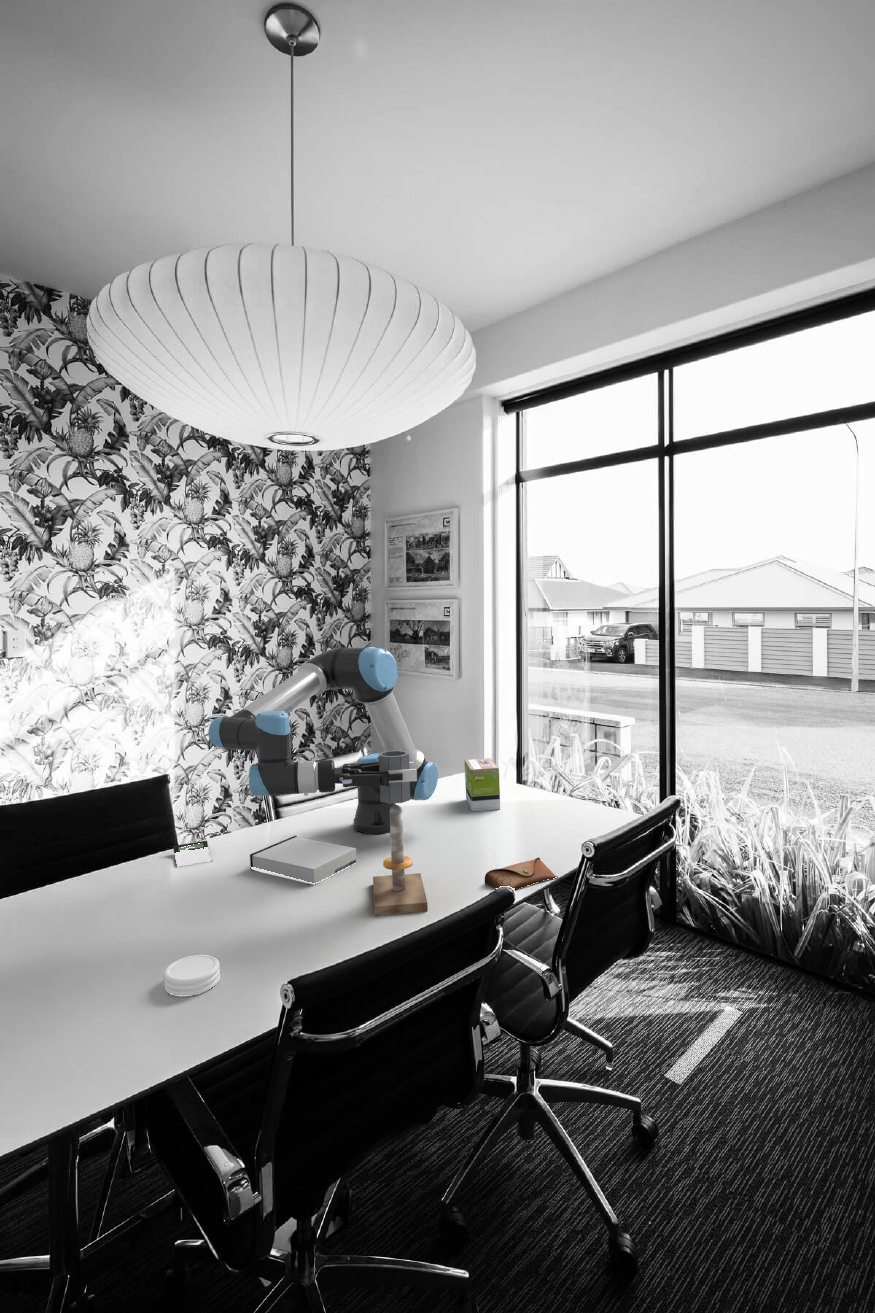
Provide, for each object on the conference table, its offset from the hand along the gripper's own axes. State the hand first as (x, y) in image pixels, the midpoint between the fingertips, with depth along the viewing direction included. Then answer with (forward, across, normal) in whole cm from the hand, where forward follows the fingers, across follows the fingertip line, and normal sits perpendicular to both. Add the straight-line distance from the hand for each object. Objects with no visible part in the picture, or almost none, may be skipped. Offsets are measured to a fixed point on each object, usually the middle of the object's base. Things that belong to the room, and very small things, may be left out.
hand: (415, 771), depth 170 cm
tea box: (+28, -73, -31) cm, 84 cm away
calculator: (-61, -38, -31) cm, 79 cm away
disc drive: (-29, -25, -31) cm, 49 cm away
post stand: (-5, 0, -30) cm, 31 cm away
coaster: (-46, +32, -31) cm, 64 cm away
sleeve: (-5, 0, -6) cm, 8 cm away
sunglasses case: (+26, -4, -31) cm, 41 cm away
